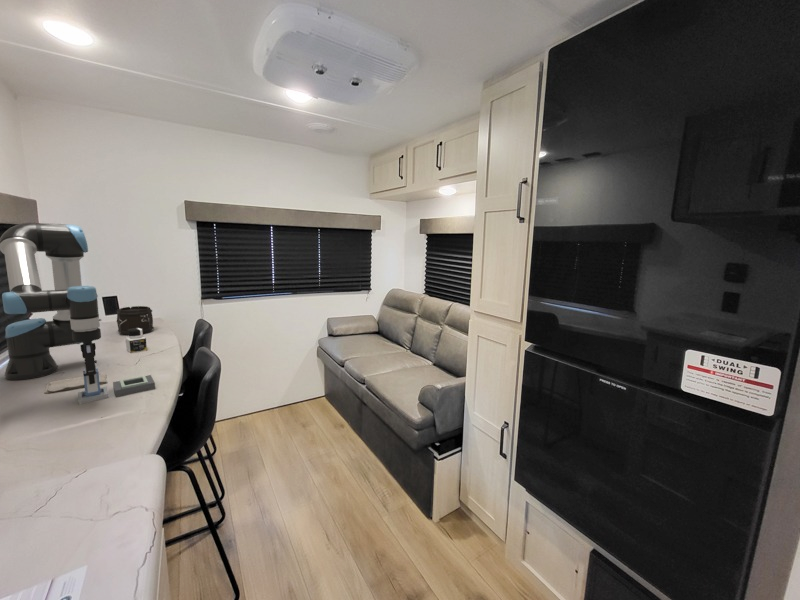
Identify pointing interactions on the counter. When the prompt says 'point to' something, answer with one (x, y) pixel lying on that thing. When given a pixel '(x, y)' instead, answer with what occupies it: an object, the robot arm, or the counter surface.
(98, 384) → the plug
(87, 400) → the grey square tray
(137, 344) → the medicine bottle
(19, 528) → the counter surface
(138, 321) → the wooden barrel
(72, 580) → the counter surface
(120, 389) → the port block
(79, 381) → the washcloth
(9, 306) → the robot arm
